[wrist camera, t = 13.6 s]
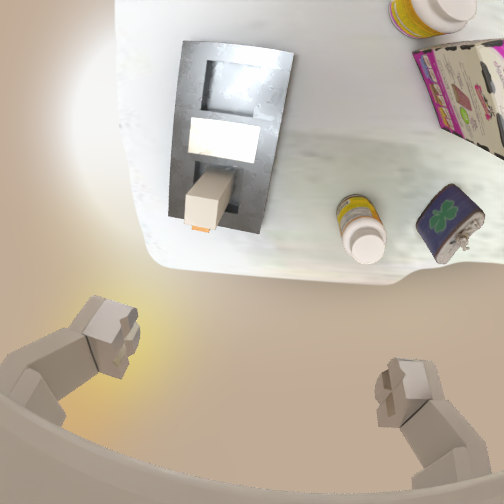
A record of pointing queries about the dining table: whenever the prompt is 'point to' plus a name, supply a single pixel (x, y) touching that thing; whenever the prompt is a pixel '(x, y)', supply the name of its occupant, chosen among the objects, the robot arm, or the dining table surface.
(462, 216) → the flask
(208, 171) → the plug
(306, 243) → the dining table surface
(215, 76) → the panel
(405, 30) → the supplement bottle
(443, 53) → the candy bar box
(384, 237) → the supplement bottle
